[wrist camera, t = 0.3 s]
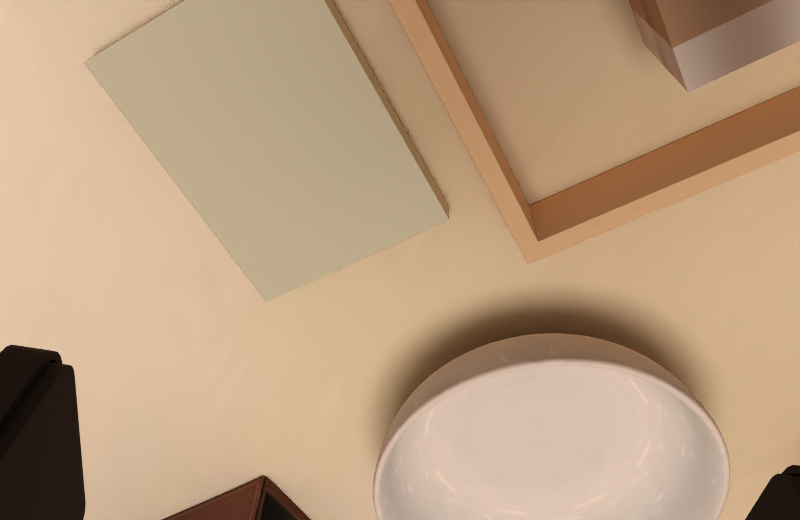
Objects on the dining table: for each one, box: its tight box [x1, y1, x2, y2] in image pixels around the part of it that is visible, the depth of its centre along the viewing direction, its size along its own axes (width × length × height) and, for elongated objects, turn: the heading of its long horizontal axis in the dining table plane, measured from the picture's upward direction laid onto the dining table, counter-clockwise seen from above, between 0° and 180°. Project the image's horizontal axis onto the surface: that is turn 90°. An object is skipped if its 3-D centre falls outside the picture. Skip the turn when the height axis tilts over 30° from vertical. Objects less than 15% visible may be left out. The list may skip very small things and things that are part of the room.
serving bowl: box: [373, 333, 730, 520], centre depth 46 cm, size 21×21×7 cm
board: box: [84, 0, 449, 302], centre depth 38 cm, size 12×16×2 cm
